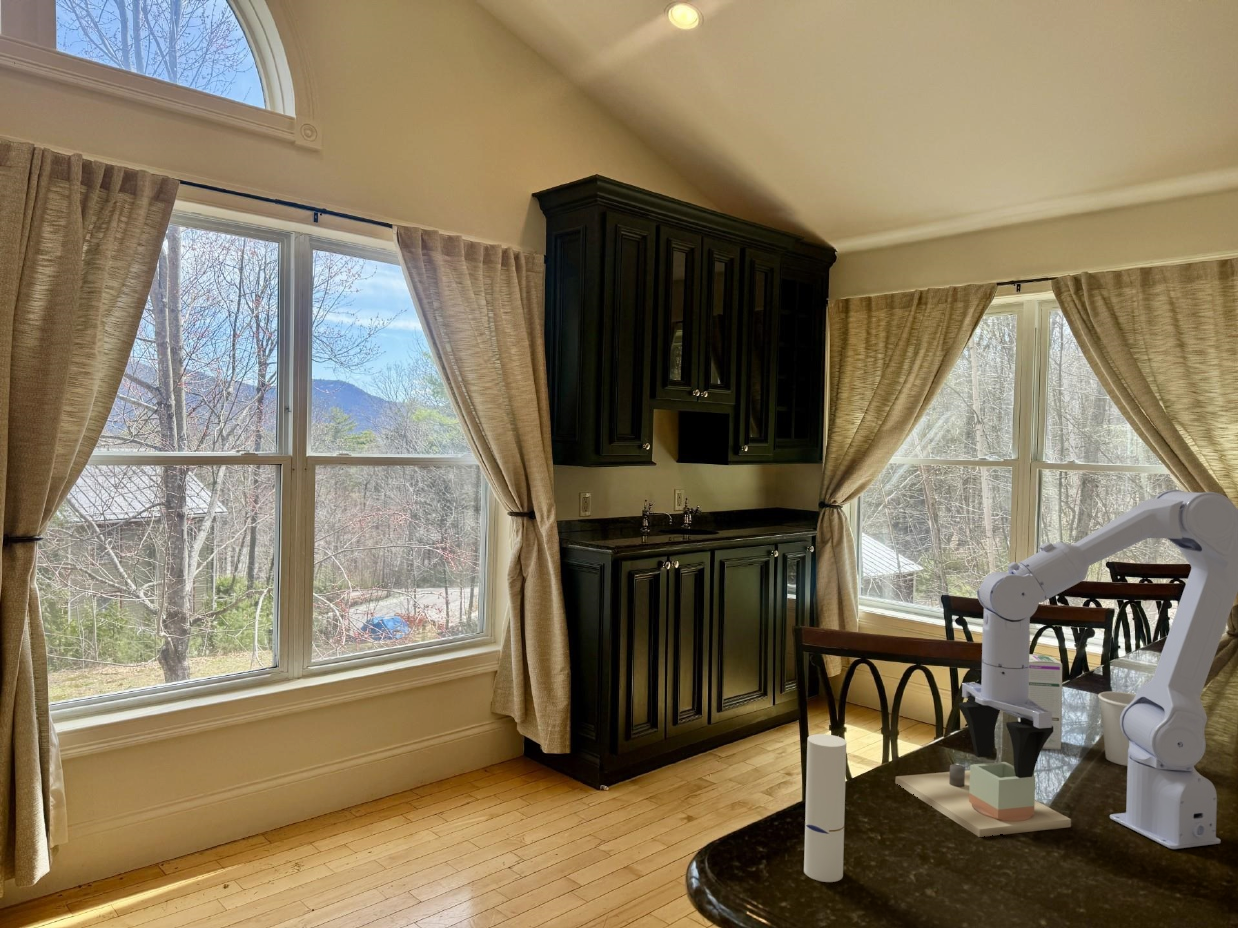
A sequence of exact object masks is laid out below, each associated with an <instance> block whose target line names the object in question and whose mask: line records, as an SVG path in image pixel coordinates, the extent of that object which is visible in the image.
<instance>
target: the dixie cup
mask: <svg viewBox="0 0 1238 928" xmlns="http://www.w3.org/2000/svg"><path fill="white" fill-rule="evenodd" d="M1136 694H1137V693H1132V692H1126V691H1125V692H1124V691H1123V692H1122V691H1103V692H1099V693H1098V695H1097V696H1098V699H1099V706H1100V714H1101V724H1102V732H1103V733H1102V734H1103V741H1104V751H1105V759H1106V760H1108V761H1110V762H1111V763H1114V764H1118V765H1121V766H1126V767H1128V749H1129V740H1128V739H1127V738H1126V737H1125V736H1124V734H1123V733H1122V730H1121V727H1120V716H1121V713H1122V711H1123V710H1124V708H1125V707H1126V706H1127V705H1129V704H1130V703H1131V702H1132V701H1133V700H1134V698H1135V696H1136Z"/></svg>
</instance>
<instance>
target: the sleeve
mask: <svg viewBox="0 0 1238 928" xmlns="http://www.w3.org/2000/svg"><path fill="white" fill-rule="evenodd" d="M969 770H970V785H969V802H970V803H972V804H974V805H975V806H977V807H979V808H980V809H982V810H984V811H985V812H987V813H989V814H990V815H992V816H994V817H995V818H997V819H1003V818H1012V817H1022V816H1032V815H1034V806H1035V800H1036V799H1035V798H1036V795H1035V794H1036V776H1035V775H1032V777H1027V778H1018V777H1016V775H1015V771H1014V765H1013V764H1010V763H1008V762H1006V761H1002V762H1000V761H999V762H989V763H975V764H969Z"/></svg>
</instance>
